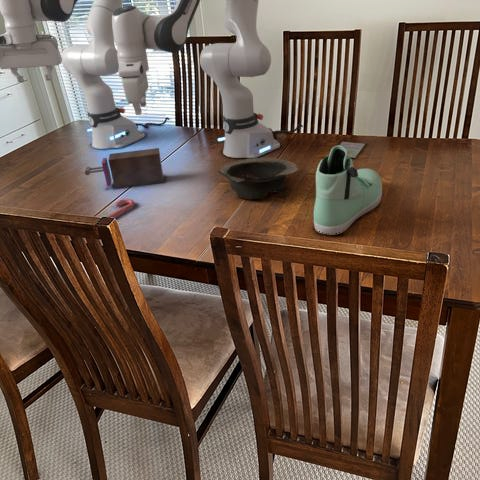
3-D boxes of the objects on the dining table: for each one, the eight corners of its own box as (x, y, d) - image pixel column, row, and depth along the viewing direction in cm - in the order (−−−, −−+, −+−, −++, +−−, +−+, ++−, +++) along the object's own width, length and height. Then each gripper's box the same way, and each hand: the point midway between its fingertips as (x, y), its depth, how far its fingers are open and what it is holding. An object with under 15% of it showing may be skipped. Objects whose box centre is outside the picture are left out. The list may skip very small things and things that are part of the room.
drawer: (88, 188, 162) (82, 165, 157) (89, 183, 165) (84, 160, 161) (152, 180, 164) (148, 157, 159) (152, 175, 168) (148, 152, 163)
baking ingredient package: (331, 154, 173) (342, 141, 184) (330, 155, 173) (342, 142, 185) (355, 156, 169) (365, 143, 181) (355, 158, 170) (365, 144, 181)
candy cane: (88, 221, 143) (87, 216, 143) (125, 200, 153) (124, 196, 153) (102, 225, 140) (101, 221, 139) (138, 204, 150) (137, 200, 150)
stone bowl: (243, 213, 140) (240, 183, 136) (209, 189, 160) (205, 162, 156) (313, 190, 149) (312, 161, 144) (272, 170, 169) (270, 144, 165)
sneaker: (389, 187, 148) (396, 123, 138) (356, 242, 123) (361, 168, 112) (346, 181, 154) (350, 119, 144) (306, 232, 129) (307, 161, 118)
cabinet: (114, 188, 162) (108, 160, 157) (115, 181, 167) (109, 153, 162) (163, 182, 164) (159, 153, 159) (163, 175, 169) (158, 147, 163)
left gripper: (58, 32, 154) (69, 76, 161) (-4, 37, 155) (9, 80, 162) (52, 35, 149) (63, 81, 156) (-13, 40, 149) (1, 85, 156)
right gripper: (129, 59, 156) (136, 102, 163) (116, 72, 139) (125, 119, 146) (148, 58, 156) (155, 101, 163) (138, 71, 139) (146, 118, 146)
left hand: (35, 81), depth 159 cm, fingers open, 8 cm apart
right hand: (141, 110), depth 154 cm, fingers open, 8 cm apart
